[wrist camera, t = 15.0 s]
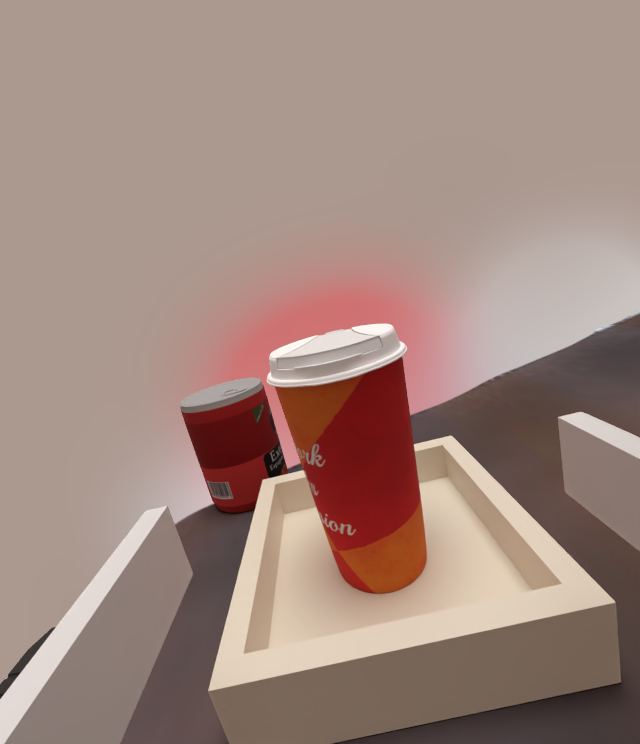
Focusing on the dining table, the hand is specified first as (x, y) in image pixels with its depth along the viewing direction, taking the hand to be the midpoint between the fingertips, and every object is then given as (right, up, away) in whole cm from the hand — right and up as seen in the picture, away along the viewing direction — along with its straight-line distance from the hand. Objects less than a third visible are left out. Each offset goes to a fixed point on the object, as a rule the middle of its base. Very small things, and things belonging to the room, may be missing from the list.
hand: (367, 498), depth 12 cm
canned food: (-8, -8, +25) cm, 27 cm away
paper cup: (+2, -8, +10) cm, 13 cm away
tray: (+3, -8, +11) cm, 14 cm away
